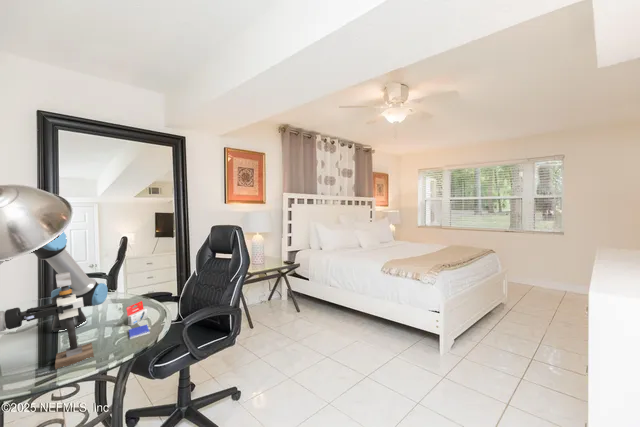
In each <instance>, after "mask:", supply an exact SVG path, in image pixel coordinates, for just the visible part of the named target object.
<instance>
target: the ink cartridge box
mask: <svg viewBox="0 0 640 427" xmlns="http://www.w3.org/2000/svg"><path fill="white" fill-rule="evenodd" d="M135 306H136V307H135ZM125 309H126V314H127V324H128V326H134V325H136V324H138V323H140V322H141V321H144V320H146V319H148V318H149V316H148V309H147V308H144V304H143V300H141V301H139V302H136V303H134V304H131V305H129V306H127V307H126V308H125ZM147 317H148V318H147Z"/></svg>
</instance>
